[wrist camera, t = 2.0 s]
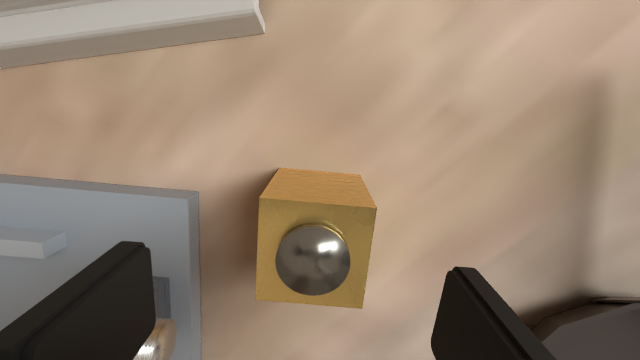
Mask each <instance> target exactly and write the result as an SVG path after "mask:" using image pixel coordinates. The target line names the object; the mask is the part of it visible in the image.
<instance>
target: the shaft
mask: <svg viewBox="0 0 640 360" xmlns="http://www.w3.org/2000/svg"><path fill="white" fill-rule="evenodd" d="M153 288H154V300H155V313H156V323H155V327H154V329H153V331H152V333H151V334H150V336H149V337H148V339H147V340H146V342H145V343H144V345H143V346H142V347H141V349H140V350H139V352H138V353H137V355H136V356H135V357H134V359H133V360H170V358H171V355H172V352H173V349H174V345H175V341H176V334H177V327H176V322H175V321H174V320H173V319H171V303H170V281H169V277H157V276H153Z"/></svg>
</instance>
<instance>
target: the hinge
mask: <svg viewBox="0 0 640 360" xmlns="http://www.w3.org/2000/svg"><path fill="white" fill-rule="evenodd" d="M258 5H259V0H0V69H3V68H11V67H18V66H26V65H33V64H41V63H48V62H56V61H63V60H71V59H78V58H85V57H93V56H100V55H108V54H115V53H123V52H130V51H138V50H145V49H153V48H160V47H168V46H175V45H182V44H190V43H197V42H205V41H212V40H220V39H227V38H235V37H242V36H250V35H257V34H265V23H264V20H263V18H262V15H261V12H260V10H259V7H258Z"/></svg>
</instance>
